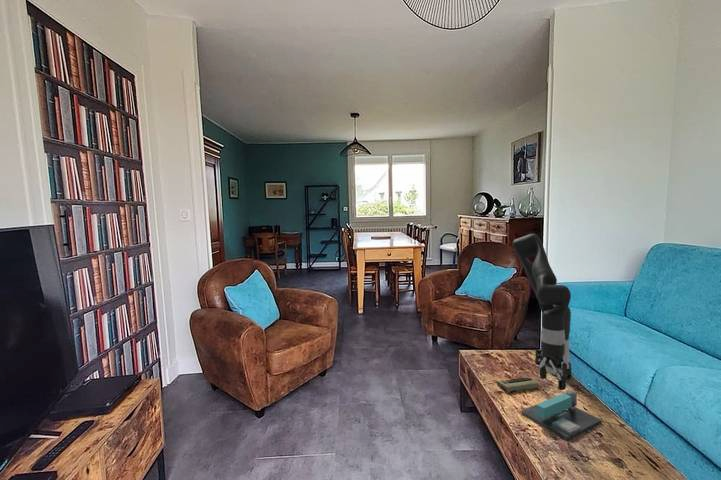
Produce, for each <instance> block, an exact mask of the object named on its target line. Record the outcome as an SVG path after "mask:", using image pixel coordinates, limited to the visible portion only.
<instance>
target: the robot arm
mask: <svg viewBox="0 0 721 480" xmlns="http://www.w3.org/2000/svg"><path fill="white" fill-rule="evenodd" d="M511 245H512V248H513V251H514V254H515V255H516V257H517V258H518V260H519V262H520V264H521V266H522V268H523V269H524V272H525V274H526V277H527V279H528V281H529V284H530V286H531V288H532V290H533V292H534V294H535V297H536V300H537V301H538V305H539V308H540V311H541V330H540V348H539V349H535V358H534V359H535V360H534V361H535V362H534V363H535V365H536V366H538V368H539V378H540V379H542V380H545V379H547V374H548V373H549V374H551V375H554V376H557V379H558V380H557V381H558V382H557V384H558V385H557V389H558V390H559V391H564V390H565V391H566V388H567V387H566V386H567V385H566V384H567V382H566V381H571V380H572V363H571V362H570V360H571V359H570V358H571V353H570V333H571V317H572V312H571V308H570V307H569V306H570V301H571V297H572V295H571V290H570V289H569V287H568V286H566V285H564V284H557V282H558V279H557V276H556V274H555V273H554V271H553V269H552V267H551V265H550V262H549V259H548V256H547V253H546V251H545V248H544V245H543V243H542V240H541V238H540V237H539V236H538V234H536V233H529V234H527V235H524V236H521V237H518V238H515V239H514V240H513V241H512V244H511ZM532 257H535V258H534V261H531V260H530V259H529V258H532Z"/></svg>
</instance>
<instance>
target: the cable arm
mask: <svg viewBox="0 0 721 480" xmlns="http://www.w3.org/2000/svg"><path fill="white" fill-rule="evenodd" d="M577 395H578V394H577V392H575V391H574V390H571V389H570V390H565V393H561V394H558V395H556V396H554V397H552V398H549V399H547V400H544V401H542V402H539V403H536V404H535V405H536V415H538V416H539V417H541V418H543V419H545V418H548V417H550V416H552V415H554V414H557V413H559V412H561V411H563V410H566V409H568V408H570V407H572V406H575V407H576V406H577V405H578V404H577V403H578V400H577V397H578V396H577Z"/></svg>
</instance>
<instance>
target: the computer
mask: <svg viewBox="0 0 721 480" xmlns="http://www.w3.org/2000/svg"><path fill="white" fill-rule="evenodd" d="M496 385H497V387H499V388H500V389H501V390H503V391H504V392H505V393H506V394H511V392H516V393H517V392H524V391H530V390H531V391H532V390H537V389H538V390H539V388H540V385H539V382H538V381H537V380H534V379H533V378H531V377H529V376H525V377H524V376H523V377H517V378H516V377H515V378H510V379H502V380H496Z"/></svg>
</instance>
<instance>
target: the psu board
mask: <svg viewBox="0 0 721 480" xmlns="http://www.w3.org/2000/svg"><path fill="white" fill-rule="evenodd" d="M520 412H521V415H523V416H524V417H526V418H528V419H529V420H531V421H532V422H535V423H536V424H538V425H540V426H542V427H543V428H545V429H546V430H548V431H550V432H552V433H553V434H555V435H556V436H559V437H560V438H562V439H563V440H565V441H567V442H568V441H569V440H571V439H573V438H575V437H577V436H579V435H581V434H583V433H585V432H588V431H589V430H591V429H593V428H595V427H596V426H599V425H601V424H603V423H602V422H603V420H602V419H600V418H598V417H597V416H595V415H592V414H591V413H588V412H586V411H585V410H582V409H580V408H579V407H576V406H572V407H570V408H568V409H566V410H563V411H561V412H559V413H557V414H554V415H552V416H550V417H548V418H545V419H543V418H541V417H539V416H538V415H536V404H534V405H532V406H529V407H527V408H525V409H522V410H521V411H520Z"/></svg>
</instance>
